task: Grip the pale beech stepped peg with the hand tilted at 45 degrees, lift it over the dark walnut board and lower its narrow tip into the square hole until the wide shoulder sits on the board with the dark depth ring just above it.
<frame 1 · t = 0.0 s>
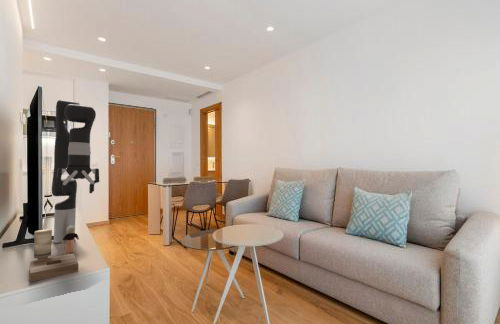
hand: (78, 193, 101), 29 cm above the table, tool pointing down, fingers open, 8 cm apart
beech peg: (42, 262, 104), on the table
walnut board: (53, 270, 96), on the table
grandmother figurine: (70, 253, 115), on the table
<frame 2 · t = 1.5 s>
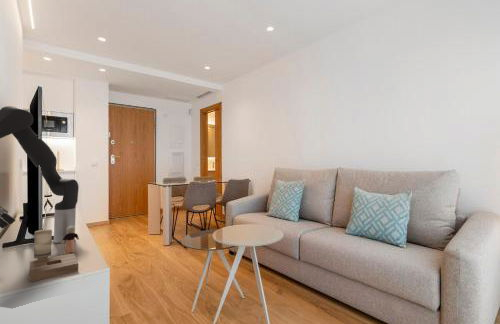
hand: (9, 224, 99), 17 cm above the table, tool tilted 45°, fingers open, 8 cm apart
nothing on the table moved.
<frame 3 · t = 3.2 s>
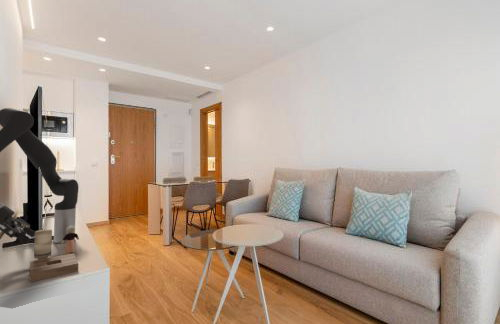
hand: (31, 238, 102), 10 cm above the table, tool tilted 45°, fingers open, 8 cm apart
nothing on the table moved.
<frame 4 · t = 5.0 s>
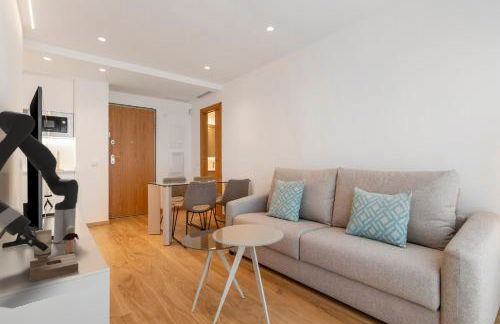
hand: (48, 246, 105), 6 cm above the table, tool tilted 45°, fingers closed on beech peg, 5 cm apart
beech peg: (42, 261, 104), on the table, touching gripper
everything else where it was.
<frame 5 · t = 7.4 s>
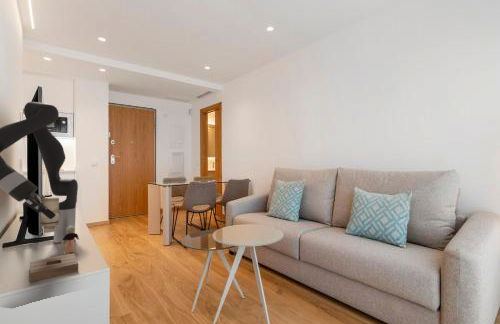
hand: (55, 215, 99), 21 cm above the table, tool tilted 45°, fingers closed on beech peg, 5 cm apart
beech peg: (49, 231, 98), point 15 cm above the table, touching gripper
everything else where it was.
when the fingers open (7 cm above the table, at t = 10.3 s): beech peg stays where it is, resting on walnut board.
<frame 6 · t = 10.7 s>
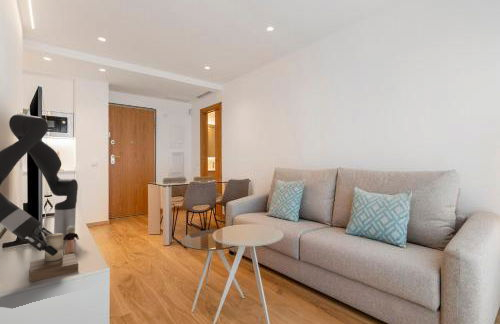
hand: (58, 250, 97), 7 cm above the table, tool tilted 45°, fingers open, 8 cm apart
beech peg: (53, 268, 96), resting on walnut board
everything else where it was.
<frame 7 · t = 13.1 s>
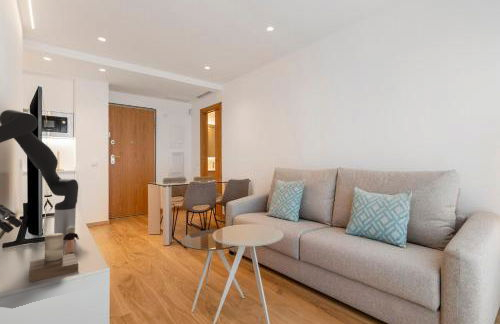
hand: (16, 228, 91), 17 cm above the table, tool tilted 45°, fingers open, 8 cm apart
nothing on the table moved.
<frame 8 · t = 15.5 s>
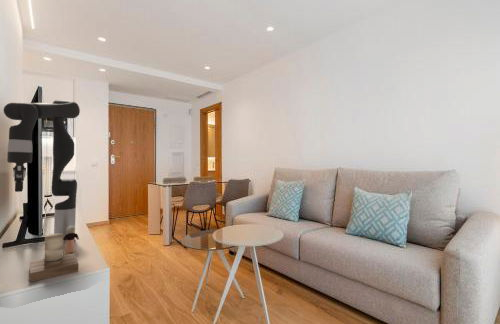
hand: (19, 190, 101), 30 cm above the table, tool pointing down, fingers open, 8 cm apart
nothing on the table moved.
at the end: beech peg 0.1 cm off-centre on the walnut board, point 0.5 cm above the walnut board's base; beech peg tilted 0°; the gripper is holding nothing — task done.
